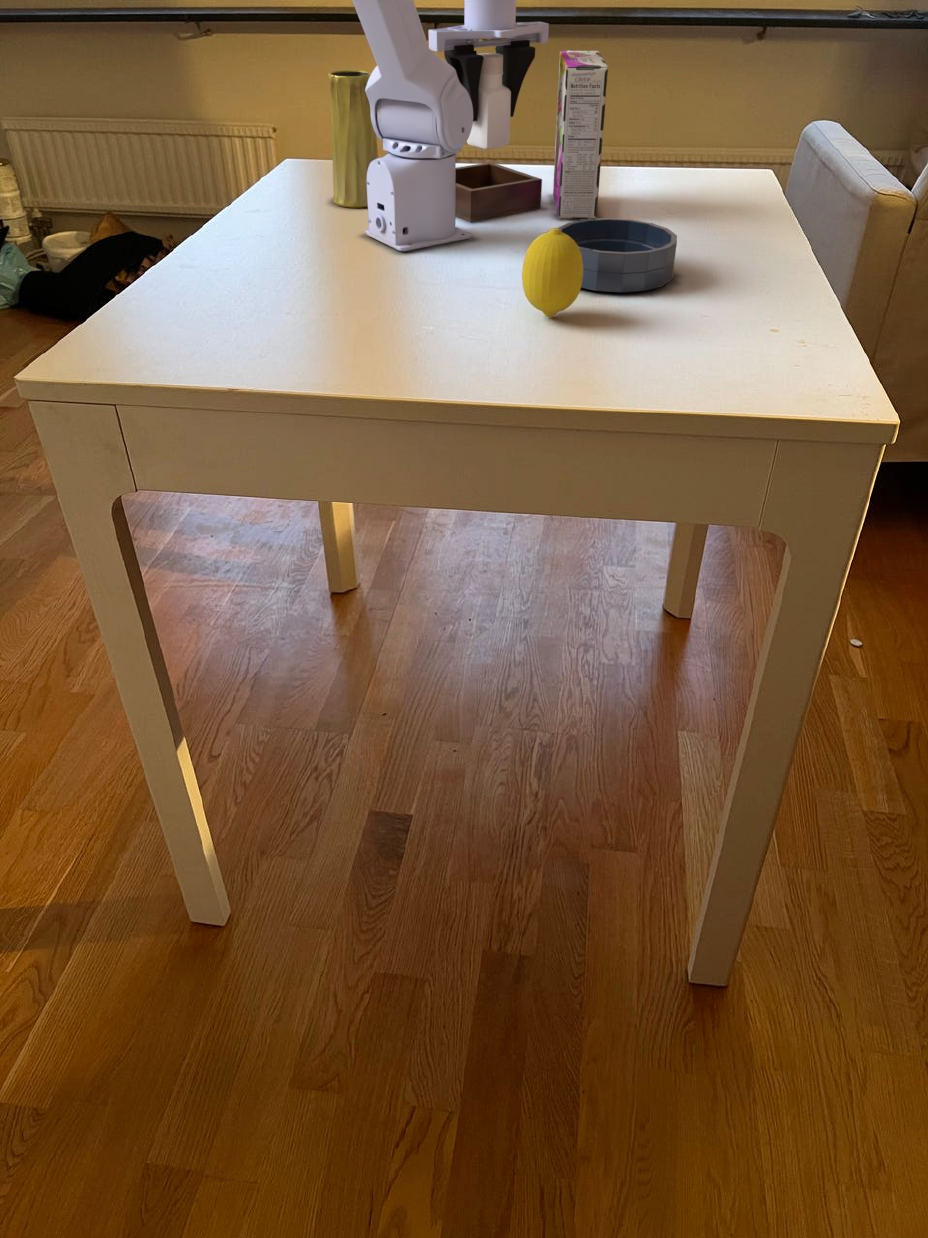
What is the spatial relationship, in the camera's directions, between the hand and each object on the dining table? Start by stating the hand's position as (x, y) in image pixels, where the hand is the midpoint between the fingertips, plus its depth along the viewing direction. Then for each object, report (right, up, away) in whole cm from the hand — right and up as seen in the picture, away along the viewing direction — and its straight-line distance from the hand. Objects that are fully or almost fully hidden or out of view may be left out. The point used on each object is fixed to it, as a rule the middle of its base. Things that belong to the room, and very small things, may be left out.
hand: (488, 117), depth 113 cm
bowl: (+12, -24, -14) cm, 30 cm away
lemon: (+5, -31, -23) cm, 39 cm away
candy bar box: (+11, -8, +7) cm, 15 cm away
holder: (-1, -7, +7) cm, 10 cm away
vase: (-16, -7, +8) cm, 19 cm away
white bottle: (0, -3, +2) cm, 3 cm away
